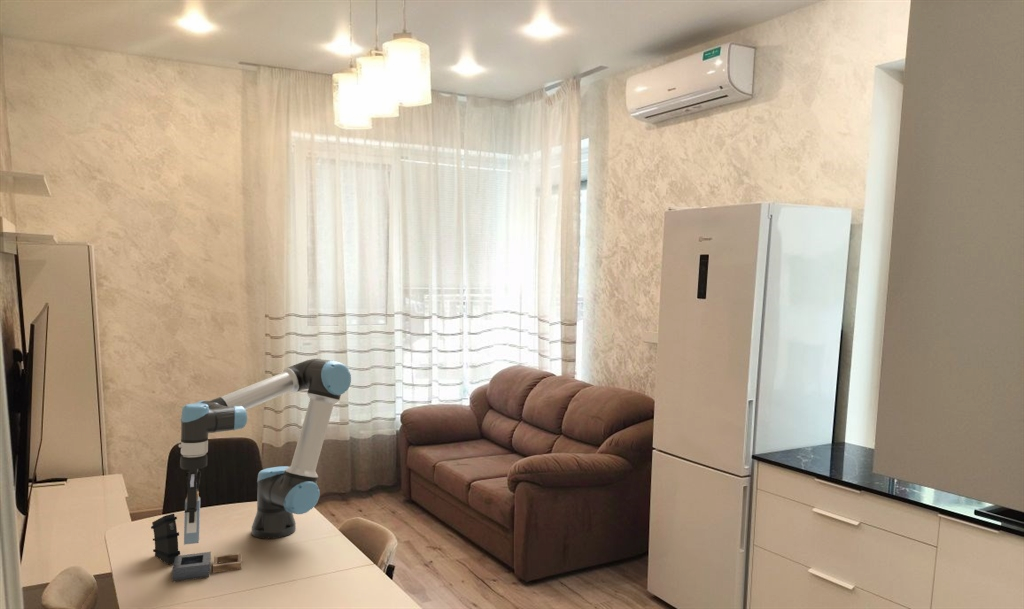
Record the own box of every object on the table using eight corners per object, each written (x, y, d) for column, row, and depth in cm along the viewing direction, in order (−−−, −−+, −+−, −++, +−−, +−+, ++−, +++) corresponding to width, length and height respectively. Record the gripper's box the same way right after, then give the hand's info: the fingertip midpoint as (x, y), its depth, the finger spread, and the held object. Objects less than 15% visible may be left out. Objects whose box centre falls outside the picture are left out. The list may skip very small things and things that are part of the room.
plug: (199, 538, 200) (200, 490, 200) (198, 543, 196) (199, 494, 196) (184, 539, 198) (186, 491, 198) (183, 544, 195) (185, 495, 194)
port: (210, 564, 204) (210, 551, 204) (209, 577, 195) (209, 564, 195) (175, 568, 200) (175, 555, 200) (172, 582, 191) (172, 568, 191)
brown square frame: (241, 558, 209) (241, 552, 209) (241, 568, 201) (241, 562, 201) (214, 562, 205) (214, 556, 205) (213, 572, 198) (213, 566, 198)
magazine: (172, 563, 200) (163, 515, 204) (155, 570, 208) (148, 524, 211) (184, 559, 203) (176, 512, 207) (168, 566, 211) (160, 521, 214)
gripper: (182, 448, 203) (180, 521, 204) (177, 462, 188) (175, 541, 188) (208, 447, 206) (206, 519, 207) (206, 460, 191) (204, 538, 191)
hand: (192, 529), depth 197 cm, fingers closed on plug, 4 cm apart
